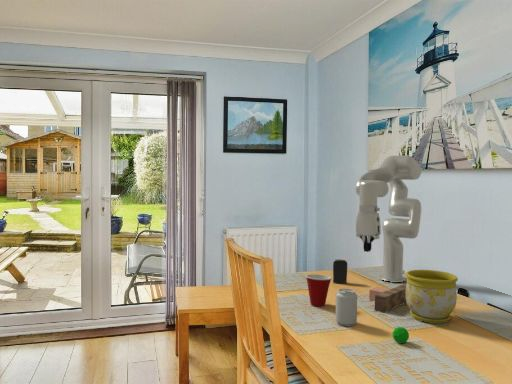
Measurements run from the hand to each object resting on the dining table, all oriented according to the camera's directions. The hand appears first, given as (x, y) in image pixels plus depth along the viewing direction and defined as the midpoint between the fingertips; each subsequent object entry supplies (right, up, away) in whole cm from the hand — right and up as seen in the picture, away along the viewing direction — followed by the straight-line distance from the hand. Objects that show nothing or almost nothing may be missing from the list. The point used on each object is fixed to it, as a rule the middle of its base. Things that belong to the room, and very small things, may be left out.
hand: (367, 251), depth 193 cm
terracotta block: (+4, -21, -7) cm, 22 cm away
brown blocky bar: (+9, -21, -11) cm, 25 cm away
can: (-17, -21, -35) cm, 44 cm away
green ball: (-3, -22, -52) cm, 57 cm away
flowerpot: (+16, -22, -28) cm, 39 cm away
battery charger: (-8, -19, +24) cm, 31 cm away
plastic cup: (-24, -20, -13) cm, 34 cm away
